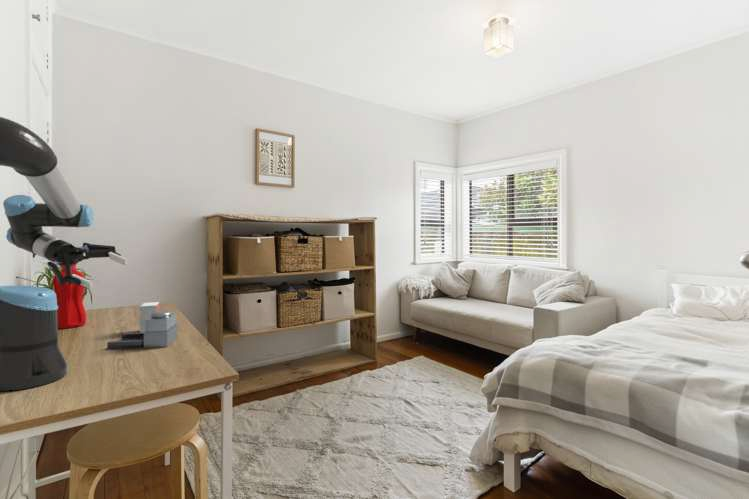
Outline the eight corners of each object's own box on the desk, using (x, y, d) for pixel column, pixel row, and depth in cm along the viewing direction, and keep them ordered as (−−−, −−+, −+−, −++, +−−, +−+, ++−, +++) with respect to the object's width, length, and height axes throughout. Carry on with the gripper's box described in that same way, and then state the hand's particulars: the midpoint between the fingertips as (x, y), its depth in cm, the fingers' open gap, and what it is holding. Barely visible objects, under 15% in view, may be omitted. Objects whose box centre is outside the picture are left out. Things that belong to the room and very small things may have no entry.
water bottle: (76, 321, 157) (75, 261, 156) (89, 325, 152) (88, 262, 151) (48, 326, 149) (47, 262, 148) (60, 330, 144) (59, 263, 143)
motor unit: (167, 346, 125) (167, 315, 124) (107, 349, 121) (106, 317, 121) (177, 337, 136) (177, 309, 135) (122, 339, 132) (122, 310, 132)
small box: (157, 333, 141) (156, 305, 140) (139, 335, 139) (139, 306, 138) (160, 328, 148) (160, 301, 148) (143, 329, 146) (143, 302, 146)
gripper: (90, 240, 140) (140, 261, 138) (19, 279, 120) (76, 304, 118) (86, 223, 136) (138, 245, 134) (12, 260, 115) (71, 287, 113)
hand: (109, 273), depth 126 cm, fingers open, 13 cm apart
